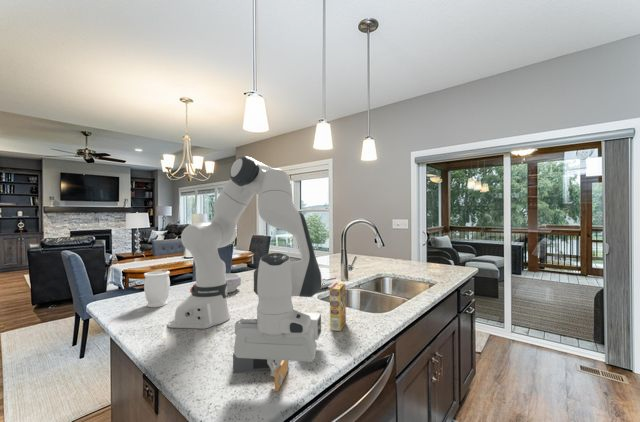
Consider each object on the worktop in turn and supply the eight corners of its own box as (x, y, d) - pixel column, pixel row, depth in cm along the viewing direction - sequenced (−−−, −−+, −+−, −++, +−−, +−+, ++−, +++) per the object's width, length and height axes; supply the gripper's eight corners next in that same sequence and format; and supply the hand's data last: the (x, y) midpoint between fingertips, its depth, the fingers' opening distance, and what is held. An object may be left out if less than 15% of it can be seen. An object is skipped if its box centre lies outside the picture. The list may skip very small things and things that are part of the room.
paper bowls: (236, 294, 149) (236, 279, 149) (206, 294, 149) (206, 279, 149) (244, 287, 164) (244, 273, 164) (217, 287, 164) (217, 273, 164)
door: (280, 391, 69) (280, 372, 69) (274, 391, 69) (274, 372, 69) (290, 369, 78) (290, 352, 78) (285, 369, 78) (285, 352, 78)
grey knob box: (233, 372, 77) (232, 350, 77) (239, 355, 86) (238, 336, 86) (285, 369, 79) (285, 347, 79) (286, 353, 88) (286, 333, 88)
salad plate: (280, 288, 163) (280, 281, 163) (309, 281, 177) (309, 275, 177) (304, 296, 147) (304, 289, 147) (334, 288, 162) (334, 282, 162)
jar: (138, 306, 131) (138, 273, 131) (159, 300, 141) (158, 269, 141) (155, 309, 127) (155, 275, 127) (175, 302, 137) (175, 271, 137)
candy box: (340, 331, 103) (340, 288, 103) (329, 330, 104) (329, 288, 104) (346, 322, 111) (346, 282, 111) (335, 321, 112) (335, 282, 112)
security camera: (317, 353, 87) (317, 320, 87) (295, 351, 89) (294, 318, 89) (321, 343, 94) (321, 312, 94) (300, 341, 95) (300, 311, 95)
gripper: (229, 323, 70) (229, 380, 70) (313, 326, 68) (313, 385, 68) (239, 313, 76) (239, 366, 76) (316, 316, 74) (316, 370, 74)
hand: (275, 375), depth 72 cm, fingers closed, pressing on door
